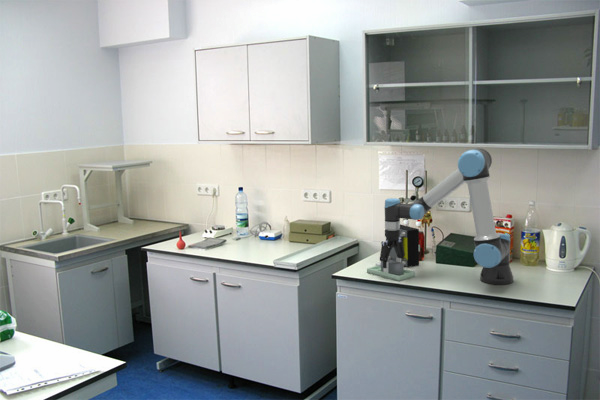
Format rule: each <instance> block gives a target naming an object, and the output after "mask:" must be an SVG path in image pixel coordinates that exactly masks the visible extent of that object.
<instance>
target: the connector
mask: <svg viewBox="0 0 600 400" xmlns="http://www.w3.org/2000/svg"><path fill="white" fill-rule="evenodd" d="M387 262H388V273H389V274H393V275H397V276H401V275H404V269H405V268H404V267H405V266H404V263H401V262H397V261H392V260H387ZM375 266H378V267H381V272H383V262H382V261H380V262H377V263H375Z"/></svg>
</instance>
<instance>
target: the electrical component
mask: <svg viewBox="0 0 600 400" xmlns="http://www.w3.org/2000/svg"><path fill="white" fill-rule="evenodd" d="M399 230H400V236H399V238H403V247H404V253H405V256H404V258H402V263H404V267H406V268H411V267H417V266H420V229H419V228H416V227H412V226H407V225H404V224H401V223H400V228H399ZM396 258H398V257H397V254H396V252H395V249H394V247H393V248H392V250H391V251H390V254H389V257H388V260H392V261H396Z"/></svg>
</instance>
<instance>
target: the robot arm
mask: <svg viewBox="0 0 600 400" xmlns="http://www.w3.org/2000/svg"><path fill="white" fill-rule="evenodd" d="M492 163H493V159H492V155H491V153H490V152H489V151H488V150H486V149H484V148H475V149H469V150H466V151H464V152H463V153H462V154H461V155H460V157H459V158H458V161H457V169H456V170H454V171H453V172H452V173H450V174H449V175H448V176H447V177H445V178H444V179H443V180H442V181H440V182H439V183H437V184H436V185H435V186H434V187H433V188H432V189H430V190H429V191H427V192H426V193H425V194H424V195H422V196H421V197H420V198H419V199H417V200H416V201H413V202H411V203H403V202H401V200H400V199H399V198H396V197H395V198H392V197H389V198H386V199H385V201H384V207H383V208H384V229H385V230H384V237H385V241H381V242H380V243H381V249H380V255H379V261H380V262H381V261H382V262H383V272H385V273H388V262H387V260H388V257H389V254H390V251H391V250H392V248H393V247H394V249H395V252H396V254H397V257H398V258H396V261H397V262H401V263H402V258H404V256H405V253H404V247H403V238H399V236H400V230H399V228H400V224H401V219H404V220H405V219H407V220H413V221H415V220H422V219H423V218H424V215H426V214H427V213H428V212H429V211H430V210H432V209H433V208H434V207H435V206H437V205H438V204H439V203H440V202H442V201H443V200H444V199H446V198H447V197H448V196H450V195H451V194H452V193H454V192H455V191H457V190H458V189H459V188H460V187H462V186H463V185H464V184H466V185H467V188H468V195H469V201H470V205H471V212H472V216H473V223H474V228H475V235H476V236H475V237H474V238H473V241H474V250H473V258H474V261H475V262H476V263H477V265H479V266H481V267H482V269H481V271H480V275H479V279H480V282H482V283H485V284H490V285H508V284H512V283H514V275H513V271H512V269H511V265H510V264H511V263H510V259H511V258H510V257H511V236H510V235H509V234H506V233H500V232H499V233H498V232H496V231H497V230H496V225H495V219H494V213H493V209H492V204H491V203H492V202H491V197H490V191H489V184H488V180H489V179H490V177H491V176H490V175H491V174H490V168H491V167H492Z"/></svg>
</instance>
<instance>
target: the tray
mask: <svg viewBox="0 0 600 400" xmlns="http://www.w3.org/2000/svg"><path fill="white" fill-rule="evenodd" d="M366 273H367V274H371V275H373V276H377V277H381V278H385V279H389V280H392V281H396V282H402V281H405V280H409V279H411V278H415V277H416V272H415V271H413V270H410V269H409V270H408V269H405V268H404V275H401V276H397V275H393V274H389V273H385V272H381V267H378V266H376V265H374V266H371V267H367V268H366Z"/></svg>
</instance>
